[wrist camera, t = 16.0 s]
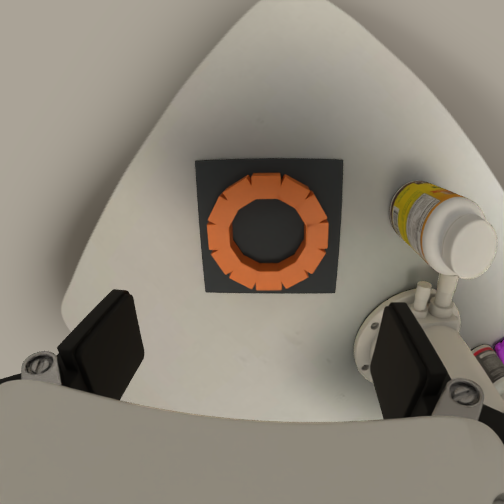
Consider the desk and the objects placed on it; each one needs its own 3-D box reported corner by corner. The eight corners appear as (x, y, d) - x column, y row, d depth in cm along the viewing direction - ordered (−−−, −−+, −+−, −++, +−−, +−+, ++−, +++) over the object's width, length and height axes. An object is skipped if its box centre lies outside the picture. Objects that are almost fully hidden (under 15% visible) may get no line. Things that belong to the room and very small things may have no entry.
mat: (195, 160, 25) (195, 161, 25) (342, 159, 24) (343, 159, 24) (206, 290, 29) (205, 292, 29) (334, 291, 28) (335, 293, 28)
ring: (207, 175, 25) (202, 178, 23) (326, 172, 24) (329, 175, 23) (216, 281, 29) (213, 290, 27) (322, 280, 28) (325, 289, 26)
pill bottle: (462, 350, 30) (496, 404, 21) (494, 338, 29) (531, 386, 20) (455, 380, 32) (483, 433, 23) (486, 368, 31) (516, 416, 22)
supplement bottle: (450, 204, 24) (517, 242, 15) (415, 250, 26) (469, 306, 17) (412, 165, 24) (478, 187, 14) (375, 214, 25) (423, 261, 16)
